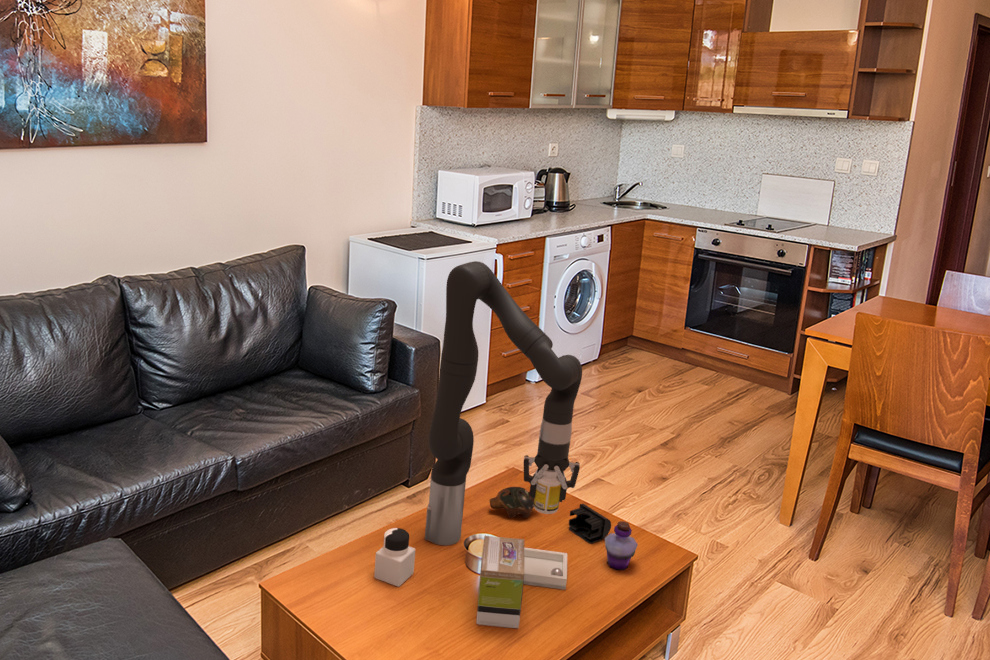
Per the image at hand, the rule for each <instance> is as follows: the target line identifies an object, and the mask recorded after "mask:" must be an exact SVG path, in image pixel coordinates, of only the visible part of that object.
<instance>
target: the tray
mask: <svg viewBox="0 0 990 660" xmlns="http://www.w3.org/2000/svg"><path fill="white" fill-rule="evenodd" d="M554 568H559V569H561V570H562V572H563V576H556V575H551V571H552V569H554ZM567 581H568V553H567V552H561V551H553V550H546V549H545V550H544V549H540V548H539V549H537V548H530V547H524V584H523V585H527V586H534V587H542V588H549V589H555V590H557V589H558V590H564V591H566V589H567Z"/></svg>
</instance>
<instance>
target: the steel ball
mask: <svg viewBox="0 0 990 660" xmlns="http://www.w3.org/2000/svg"><path fill="white" fill-rule="evenodd" d="M551 575H556V576H563V572H562V570H561V569H559V568H554V569H552V571H551Z"/></svg>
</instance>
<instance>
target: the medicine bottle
mask: <svg viewBox="0 0 990 660" xmlns="http://www.w3.org/2000/svg"><path fill="white" fill-rule="evenodd" d="M383 535H384V537H383V546H382V547H381V548H380V549H378V550H377V551H376V552H375V556H374V557H375V559H374V579H376V580H378V581H382V582H385V583H386V584H390V585H392V586H395V587H400V586H401V585H403V584H404V583H405V582H406V581H407V580H408V579H409V578H410V577H411V576H412V575H413V574H414V571H415V562H416V561H415V559H416V548H415V547H412V546H410V545H409V544H410V533H409V532H408V531H407V530H406V529H405V528H404V529H403V528H401V527H400V528H399V527H392V528H390V529H387V530H386V531H385V532H384V534H383Z"/></svg>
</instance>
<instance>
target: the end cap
mask: <svg viewBox="0 0 990 660" xmlns="http://www.w3.org/2000/svg"><path fill="white" fill-rule="evenodd" d="M575 515H576V516H575ZM569 516H570V517H573V516H574V517H573V518H570V519H568V526H569V527H568V530H569V532H571V533H573V534H575V535H576V536H578V537H579V538H580V539H582V540H583V541H585V542H586V543H588V544H590V545H592V544H595V543H598V542H600V541H602V540H603V539H605V537H607V536H608V535H609V534H610V531H611V528H612V522H611V520H610V519H609V518H607V517H606V516H604V515H603V514H601V513H600V512H597V511H596V510H595V509H593V508H591V507H590V506H588V505H587V504H586V503H580V504H579V507H578V508H575V509H572V510H570V511H569Z"/></svg>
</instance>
